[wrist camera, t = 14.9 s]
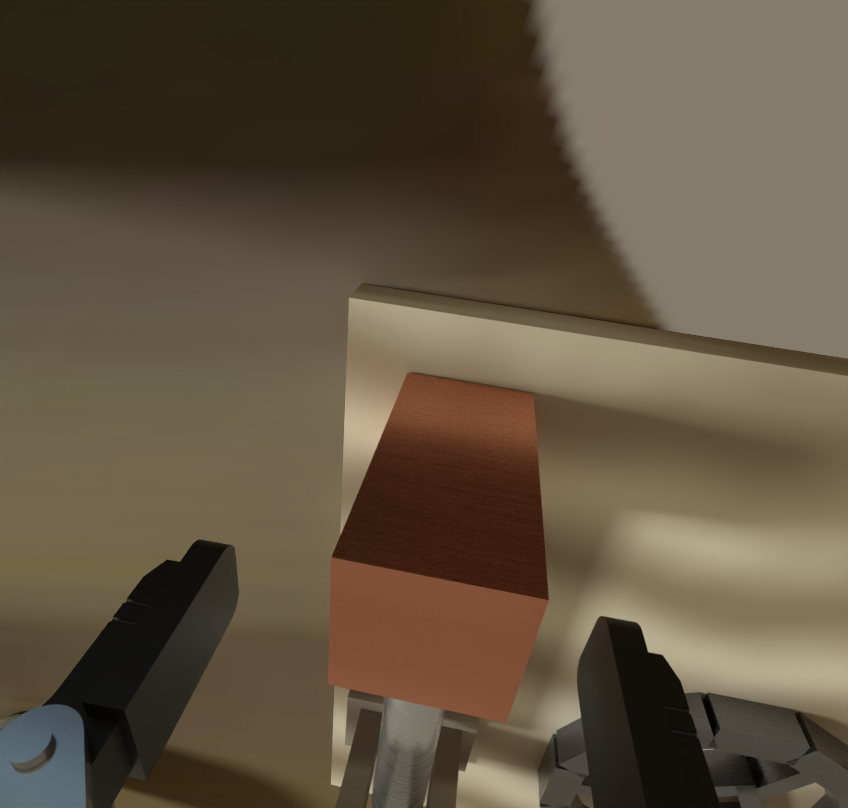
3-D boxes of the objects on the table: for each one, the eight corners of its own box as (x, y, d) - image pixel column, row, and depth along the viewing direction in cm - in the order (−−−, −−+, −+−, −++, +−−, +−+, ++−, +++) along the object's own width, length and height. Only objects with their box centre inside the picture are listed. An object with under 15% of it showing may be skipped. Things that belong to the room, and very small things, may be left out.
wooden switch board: (362, 283, 17) (249, 409, 10) (1165, 408, 15) (1764, 677, 8) (338, 757, 32) (287, 943, 25) (737, 847, 30) (808, 1077, 23)
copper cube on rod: (407, 372, 16) (331, 557, 9) (533, 393, 16) (549, 600, 9) (373, 697, 25) (321, 912, 18) (453, 715, 25) (431, 939, 18)
